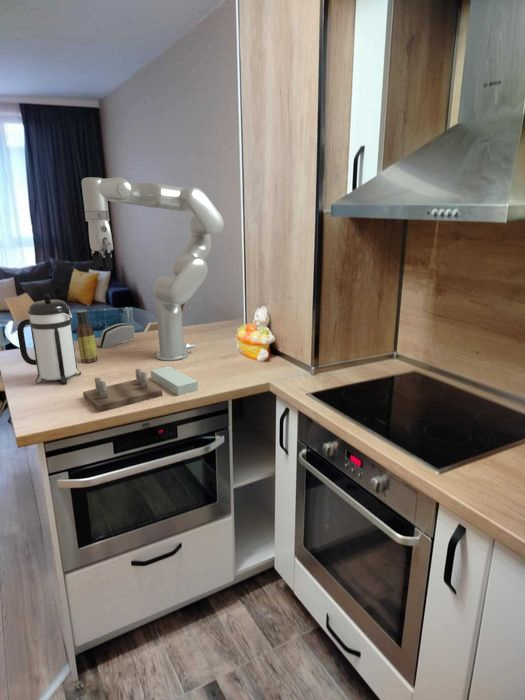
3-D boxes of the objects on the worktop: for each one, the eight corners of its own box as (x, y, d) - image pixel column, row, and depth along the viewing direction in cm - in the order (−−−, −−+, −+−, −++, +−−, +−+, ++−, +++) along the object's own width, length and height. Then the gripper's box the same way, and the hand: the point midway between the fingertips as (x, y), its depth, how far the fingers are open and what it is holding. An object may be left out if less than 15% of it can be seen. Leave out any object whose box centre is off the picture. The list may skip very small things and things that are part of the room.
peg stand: (144, 383, 157) (142, 363, 155) (162, 395, 146) (160, 374, 144) (83, 397, 145) (81, 376, 143) (99, 412, 135) (96, 389, 133)
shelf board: (151, 379, 162) (150, 370, 161) (169, 375, 166) (169, 365, 165) (178, 396, 146) (177, 386, 145) (198, 391, 150) (197, 381, 149)
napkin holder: (126, 338, 213) (130, 318, 208) (133, 342, 211) (137, 323, 206) (96, 346, 200) (98, 326, 195) (103, 352, 198) (106, 331, 193)
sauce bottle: (101, 358, 183) (95, 309, 178) (92, 363, 177) (86, 312, 172) (85, 358, 184) (79, 308, 179) (77, 363, 178) (70, 312, 173)
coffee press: (76, 368, 173) (65, 287, 164) (86, 381, 160) (75, 294, 151) (24, 377, 164) (10, 292, 155) (30, 391, 151) (15, 300, 142)
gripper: (117, 216, 152) (122, 269, 157) (99, 216, 165) (104, 265, 170) (94, 217, 147) (100, 271, 152) (77, 216, 161) (83, 266, 166)
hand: (102, 268), depth 161 cm, fingers open, 9 cm apart
